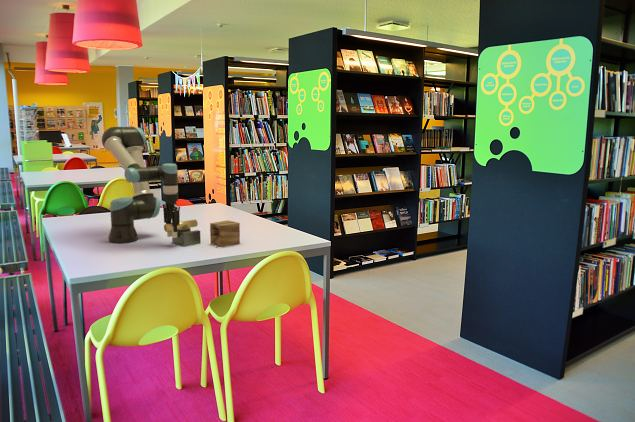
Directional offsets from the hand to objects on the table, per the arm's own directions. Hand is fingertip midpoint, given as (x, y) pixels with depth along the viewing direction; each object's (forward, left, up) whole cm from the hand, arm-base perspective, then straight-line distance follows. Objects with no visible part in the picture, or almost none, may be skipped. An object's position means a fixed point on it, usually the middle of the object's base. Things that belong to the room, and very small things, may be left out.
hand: (172, 237), depth 263 cm
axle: (0, +6, +3) cm, 7 cm away
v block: (0, +9, -5) cm, 10 cm away
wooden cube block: (+16, +23, -5) cm, 28 cm away
